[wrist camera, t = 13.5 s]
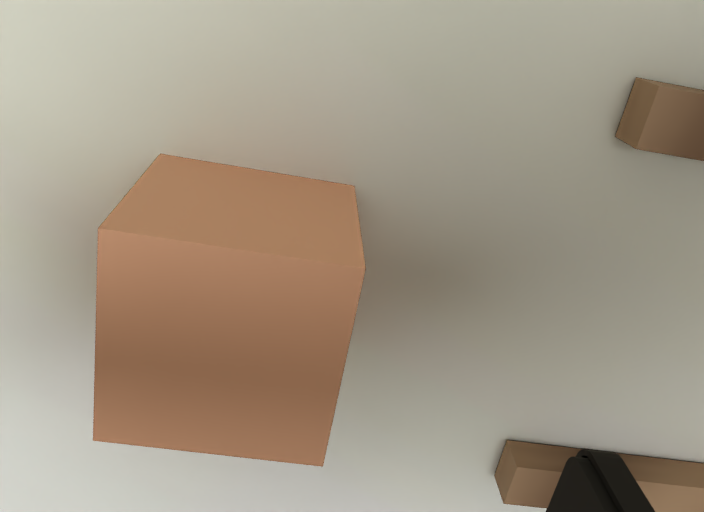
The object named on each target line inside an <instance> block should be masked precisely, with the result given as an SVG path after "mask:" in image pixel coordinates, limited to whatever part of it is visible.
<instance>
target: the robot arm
mask: <svg viewBox="0 0 704 512" xmlns="http://www.w3.org/2000/svg"><path fill="white" fill-rule="evenodd" d="M546 512H655V510H654V509H653V507H652V506H651V504H650V502H649V501H648V499H647V498H646V496H645V494H644V493H643V491H642V490H641V488H640V486H639V485H638V483H637V482H636V480H635V478H634V477H633V475H632V474H631V472H630V470H629V469H628V467H627V466H626V464H625V462H624V461H623V459H622V458H621V457H620V455H619V454H617V453H615V452H608V451H599V450H590V449H581V450H580V451H579V452H578V453H577V455H576V457H574V456H573V457H570V458H569V459H568V460H567V462H566V464H565V466H564V469H563V471H562V473H561V476H560V478H559V481H558V483H557V486H556V488H555V491H554V493H553V496H552V498H551V500H550V503H549V505H548V508H547V510H546Z"/></svg>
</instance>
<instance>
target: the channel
mask: <svg viewBox="0 0 704 512" xmlns="http://www.w3.org/2000/svg"><path fill="white" fill-rule="evenodd" d="M615 137H617V138H619V139H620V140H622V141H624V142H625V143H627V144H629V145H630V146H632V147H633V148H635V149H639V150H645V151H650V152H656V153H662V154H667V155H673V156H679V157H684V158H690V159H696V160H701V161H704V90H700V89H695V88H690V87H684V86H679V85H674V84H668V83H663V82H658V81H653V80H647V79H642V78H637V77H636V79H635V82H634V85H633V88H632V91H631V93H630V96H629V99H628V102H627V105H626V107H625V110H624V113H623V116H622V119H621V121H620V124H619V127H618V130H617V133H616V135H615ZM580 450H581V449H577V448H569V447H560V446H552V445H544V444H535V443H527V442H518V441H510V440H507V441H506V444H505V447H504V450H503V453H502V455H501V458H500V461H499V464H498V467H497V470H496V472H495V475H494V476H495V479H496V482H497V485H498V488H499V491H500V494H501V497H502V500H503V503H504V504H511V505H521V506H530V507H539V508H548V505H549V503H550V500H551V498H552V496H553V493H554V491H555V488H556V486H557V483H558V481H559V478H560V476H561V473H562V471H563V469H564V466H565V464H566V462H567V460H568V459H569V458H570V457H573V456H574V457H576V455H577V453H578V452H579V451H580ZM617 454H619V453H617ZM619 455H620V457H621V458H622V459H623V461H624V462H625V464H626V466H627V467H628V469H629V470H630V472H631V474H632V475H633V477H634V478H635V480H636V482H637V483H638V485H639V486H640V488H641V490H642V491H643V493H644V494H645V496H646V498H647V499H648V501H649V502H650V504H651V506H652V507H653V509H654V510H655V512H704V464H703V463H695V462H686V461H678V460H669V459H661V458H653V457H644V456H636V455H627V454H619Z"/></svg>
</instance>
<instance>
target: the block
mask: <svg viewBox="0 0 704 512" xmlns="http://www.w3.org/2000/svg"><path fill="white" fill-rule="evenodd" d="M365 270H366V267H365V260H364V252H363V245H362V238H361V231H360V223H359V216H358V209H357V202H356V194H355V187H354V186H352V185H346V184H340V183H334V182H328V181H322V180H316V179H310V178H304V177H298V176H292V175H286V174H280V173H274V172H267V171H261V170H255V169H249V168H243V167H237V166H231V165H225V164H219V163H213V162H207V161H201V160H195V159H189V158H183V157H177V156H171V155H165V154H160V155H159V156H158V157H157V158H156V159H155V161H154V162H153V163H152V164H151V165H150V167H149V168H148V169H147V170H146V171H145V173H144V174H143V175H142V176H141V177H140V179H139V180H138V181H137V182H136V183H135V185H134V186H133V187H132V188H131V189H130V191H129V192H128V193H127V194H126V195H125V197H124V198H123V199H122V200H121V201H120V203H119V204H118V205H117V206H116V207H115V209H114V210H113V211H112V212H111V213H110V215H109V216H108V217H107V218H106V219H105V221H104V222H103V223H102V224H101V225H100V227H99V228H98V251H97V294H96V337H95V379H94V422H93V441H102V442H111V443H119V444H128V445H137V446H146V447H155V448H164V449H172V450H181V451H190V452H199V453H208V454H217V455H225V456H234V457H243V458H252V459H261V460H270V461H278V462H287V463H296V464H305V465H314V466H323V463H324V459H325V454H326V450H327V445H328V440H329V436H330V431H331V426H332V422H333V417H334V413H335V408H336V403H337V399H338V394H339V390H340V385H341V380H342V376H343V371H344V366H345V362H346V357H347V353H348V348H349V343H350V339H351V334H352V330H353V325H354V320H355V316H356V311H357V306H358V302H359V297H360V293H361V288H362V283H363V279H364V274H365Z"/></svg>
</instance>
